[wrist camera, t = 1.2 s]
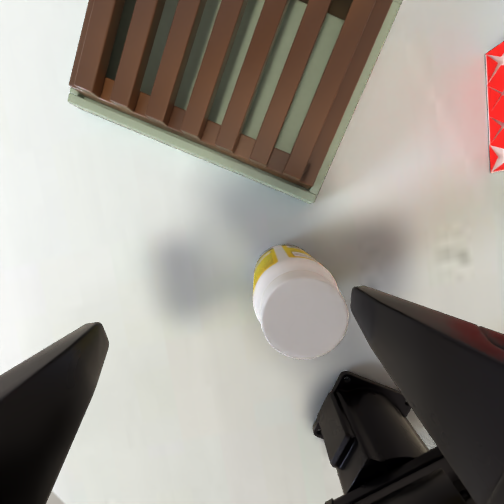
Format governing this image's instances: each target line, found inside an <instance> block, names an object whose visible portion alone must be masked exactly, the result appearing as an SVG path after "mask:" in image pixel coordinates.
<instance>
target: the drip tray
mask: <svg viewBox="0 0 504 504" xmlns="http://www.w3.org/2000/svg"><path fill="white" fill-rule="evenodd" d="M178 1H179V0H166V2H165V5H164V9H163V12H162V16H161V19H160V23H159V26H158V30H157V33H156V37H155V40H154V44H153V47H152V50H151V54H150V57H149V61H148V64H147V68H146V71H145V75H144V78H143V82H142V85H141V89H140V91H141V92H143V93H146V94H148V95H151V92H152V88H153V85H154V82H155V78H156V75H157V72H158V68H159V65H160V61H161V58H162V55H163V51H164V48H165V45H166V41H167V38H168V34H169V31H170V28H171V24H172V21H173V17H174V14H175V11H176V7H177V4H178ZM221 1H222V0H207V2H206V5H205V8H204V12H203V15H202V18H201V21H200V24H199V27H198V31H197V34H196V37H195V40H194V43H193V47H192V50H191V53H190V56H189V59H188V62H187V66H186V69H185V72H184V75H183V78H182V82H181V85H180V88H179V91H178V94H177V97H176V101H175V104H174V105H175V106H177V107H179V108H182V109H184V110H186V109H187V106H188V103H189V100H190V97H191V93H192V90H193V87H194V84H195V81H196V78H197V75H198V72H199V69H200V66H201V63H202V59H203V56H204V53H205V50H206V47H207V44H208V41H209V38H210V35H211V32H212V29H213V25H214V22H215V19H216V16H217V13H218V10H219V7H220V4H221ZM402 1H403V0H393V2H392V4H391V7H390V9H389V11H388V14H387V16H386V18H385V21H384V23H383V25H382V27H381V30H380V32H379V34H378V37H377V39H376V41H375V44H374V46H373V48H372V51H371V53H370V55H369V57H368V60H367V62H366V64H365V67H364V69H363V71H362V74H361V76H360V78H359V81H358V83H357V85H356V88H355V90H354V92H353V94H352V97H351V99H350V101H349V104H348V106H347V108H346V111H345V113H344V115H343V118H342V120H341V122H340V125H339V127H338V129H337V131H336V134H335V136H334V138H333V141H332V143H331V145H330V148H329V150H328V152H327V155H326V157H325V159H324V162H323V164H322V166H321V168H320V171H319V173H318V175H317V178H316V180H315V182H314V185H313V186H312V187H311V188H309V189H306V188H303V187H301V186H299V185H296V184H294V183H291V182H289V181H287V180H284V179H282V178H279V177H277V176H274V175H272V174H270V173H267V172H265V171H262V170H260V169H258V168H255V167H253V166H250V165H248V164H246V163H243V162H241V161H238V160H236V159H233V158H231V157H229V156H226V155H224V154H221V153H219V152H217V151H214V150H212V149H209V148H207V147H204V146H202V145H200V144H197V143H195V142H192V141H190V140H188V139H185V138H183V137H180V136H178V135H176V134H173V133H171V132H168V131H166V130H163V129H161V128H159V127H156V126H154V125H151V124H149V123H147V122H144V121H142V120H139V119H137V118H134V117H132V116H130V115H127V114H125V113H122V112H120V111H118V110H115V109H113V108H110V107H108V106H106V105H103V104H101V103H98V102H96V101H93V100H91V99H89V98H86V97H85V96H83V95H82V94H80V93H79V92H77V91H76V90H74V89H73V88H71V89H70V94H69V97H68V102H69V103H71V104H73V105H74V106H76V107H78V108H79V109H82V110H84V111H86V112H89V113H91V114H94V115H96V116H99V117H101V118H103V119H106V120H108V121H111V122H113V123H116V124H118V125H120V126H123V127H125V128H128V129H130V130H133V131H135V132H137V133H140V134H142V135H145V136H147V137H150V138H152V139H154V140H157V141H159V142H162V143H164V144H166V145H169V146H171V147H174V148H176V149H179V150H181V151H183V152H186V153H188V154H191V155H193V156H196V157H198V158H200V159H203V160H205V161H208V162H210V163H213V164H215V165H217V166H220V167H222V168H225V169H227V170H230V171H232V172H234V173H237V174H239V175H242V176H244V177H247V178H249V179H251V180H254V181H256V182H259V183H261V184H263V185H266V186H268V187H271V188H273V189H276V190H278V191H280V192H283V193H285V194H288V195H290V196H293V197H295V198H297V199H300V200H302V201H305V202H307V203H310V204H311V203H314V201H315V199H316V197H317V195H318V192H319V190H320V188H321V186H322V183H323V181H324V179H325V176H326V174H327V172H328V170H329V167H330V165H331V163H332V160H333V158H334V156H335V154H336V151H337V149H338V147H339V145H340V142H341V140H342V138H343V135H344V133H345V131H346V129H347V126H348V124H349V122H350V119H351V117H352V115H353V113H354V110H355V108H356V106H357V104H358V101H359V99H360V97H361V94H362V92H363V90H364V88H365V85H366V83H367V81H368V78H369V76H370V74H371V72H372V69H373V67H374V65H375V62H376V60H377V58H378V56H379V53H380V51H381V49H382V47H383V44H384V42H385V40H386V37H387V35H388V33H389V31H390V28H391V26H392V24H393V21H394V19H395V17H396V15H397V12H398V10H399V8H400V5H401V3H402ZM264 2H265V0H248V3H247V6H246V9H245V12H244V14H243V17H242V20H241V23H240V26H239V29H238V32H237V35H236V38H235V41H234V44H233V47H232V50H231V53H230V56H229V59H228V61H227V64H226V67H225V70H224V73H223V76H222V79H221V82H220V85H219V88H218V91H217V94H216V97H215V100H214V103H213V105H212V108H211V111H210V114H209V117H208V120H210V121H213V122H215V123H218V124H220V125H221V124H222V121H223V119H224V116H225V113H226V110H227V107H228V104H229V101H230V99H231V96H232V93H233V90H234V87H235V84H236V81H237V79H238V76H239V73H240V70H241V67H242V64H243V62H244V59H245V56H246V53H247V50H248V47H249V44H250V42H251V39H252V36H253V33H254V30H255V27H256V25H257V22H258V19H259V16H260V13H261V10H262V7H263V5H264ZM135 3H136V0H126V1H125V5H124V8H123V12H122V16H121V20H120V24H119V28H118V31H117V35H116V39H115V43H114V47H113V50H112V54H111V58H110V62H109V66H108V69H107V73H106V77H108V78H110V79H112V80H115V77H116V74H117V70H118V66H119V63H120V59H121V55H122V51H123V48H124V44H125V40H126V37H127V33H128V29H129V25H130V22H131V18H132V14H133V11H134V7H135ZM306 6H307V4H306V3H304V2H302V1H299V0H290V2H289V5H288V7H287V10H286V13H285V16H284V18H283V21H282V24H281V26H280V29H279V32H278V35H277V37H276V40H275V43H274V46H273V48H272V51H271V54H270V56H269V59H268V62H267V65H266V67H265V70H264V73H263V75H262V78H261V81H260V84H259V86H258V89H257V92H256V95H255V97H254V100H253V103H252V105H251V108H250V111H249V114H248V116H247V119H246V122H245V125H244V127H243V130H242V133H241V134H244V135H246V136H249V137H251V138H253V139H256V138H257V136H258V133H259V130H260V128H261V125H262V122H263V120H264V117H265V115H266V112H267V109H268V107H269V104H270V101H271V99H272V96H273V93H274V91H275V88H276V86H277V83H278V80H279V78H280V75H281V72H282V70H283V67H284V64H285V62H286V59H287V57H288V54H289V51H290V49H291V46H292V43H293V41H294V38H295V35H296V33H297V30H298V27H299V25H300V22H301V20H302V17H303V14H304V12H305V9H306ZM343 23H344V20H342V19H340V18H338V17H336V16H333V15H331V14H329V13H327V15H326V18H325V20H324V23H323V25H322V28H321V30H320V33H319V35H318V38H317V40H316V43H315V46H314V48H313V51H312V53H311V56H310V58H309V61H308V63H307V66H306V68H305V71H304V73H303V76H302V79H301V81H300V84H299V86H298V89H297V91H296V94H295V96H294V99H293V101H292V104H291V106H290V109H289V112H288V114H287V117H286V119H285V122H284V124H283V127H282V129H281V132H280V134H279V137H278V139H277V142H276V145H275V148H277V149H280V150H282V151H285V152H287V153H289V154H290V153H291V151H292V148H293V146H294V143H295V141H296V138H297V136H298V133H299V131H300V129H301V126H302V124H303V121H304V119H305V116H306V114H307V111H308V109H309V106H310V104H311V102H312V99H313V97H314V94H315V92H316V89H317V87H318V84H319V82H320V79H321V77H322V75H323V72H324V70H325V67H326V65H327V62H328V60H329V57H330V55H331V52H332V50H333V47H334V45H335V43H336V40H337V38H338V35H339V33H340V30H341V28H342V25H343Z"/></svg>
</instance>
